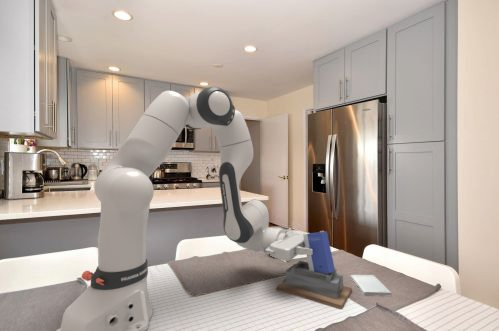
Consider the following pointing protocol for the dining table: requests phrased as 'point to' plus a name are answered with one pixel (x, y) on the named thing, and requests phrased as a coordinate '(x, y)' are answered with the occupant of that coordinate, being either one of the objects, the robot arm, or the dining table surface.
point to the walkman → (319, 252)
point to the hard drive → (370, 285)
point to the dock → (315, 296)
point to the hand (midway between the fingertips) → (316, 249)
